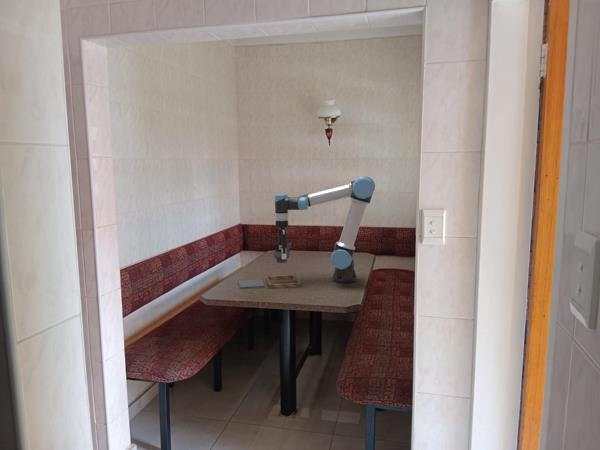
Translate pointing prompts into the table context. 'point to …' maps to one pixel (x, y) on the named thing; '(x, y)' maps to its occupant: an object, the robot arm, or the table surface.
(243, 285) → the rubber mat
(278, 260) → the mortar and pestle
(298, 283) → the frame
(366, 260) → the table surface
